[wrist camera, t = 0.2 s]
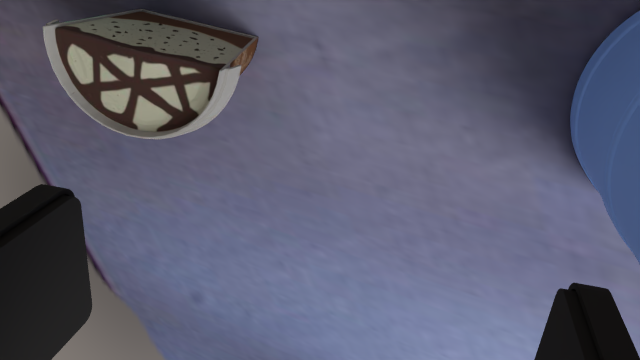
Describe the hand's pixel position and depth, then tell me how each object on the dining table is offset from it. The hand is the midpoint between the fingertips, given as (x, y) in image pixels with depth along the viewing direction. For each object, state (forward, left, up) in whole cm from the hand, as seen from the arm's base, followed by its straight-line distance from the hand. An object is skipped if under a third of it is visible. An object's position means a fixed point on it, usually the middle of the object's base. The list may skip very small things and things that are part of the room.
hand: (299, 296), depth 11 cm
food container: (+4, -16, -31) cm, 35 cm away
